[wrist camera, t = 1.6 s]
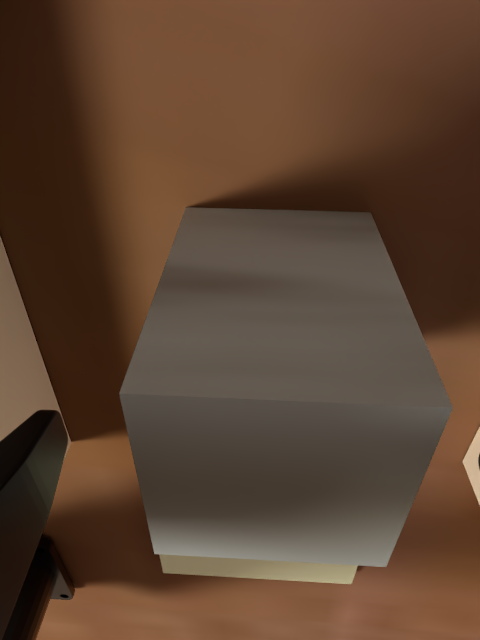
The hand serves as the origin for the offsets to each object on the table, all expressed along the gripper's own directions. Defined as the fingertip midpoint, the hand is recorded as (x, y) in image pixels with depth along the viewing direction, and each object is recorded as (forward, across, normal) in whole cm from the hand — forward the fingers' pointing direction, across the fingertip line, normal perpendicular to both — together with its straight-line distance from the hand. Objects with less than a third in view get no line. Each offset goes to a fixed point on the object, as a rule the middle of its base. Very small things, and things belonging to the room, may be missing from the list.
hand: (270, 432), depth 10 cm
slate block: (+6, 0, 0) cm, 6 cm away
